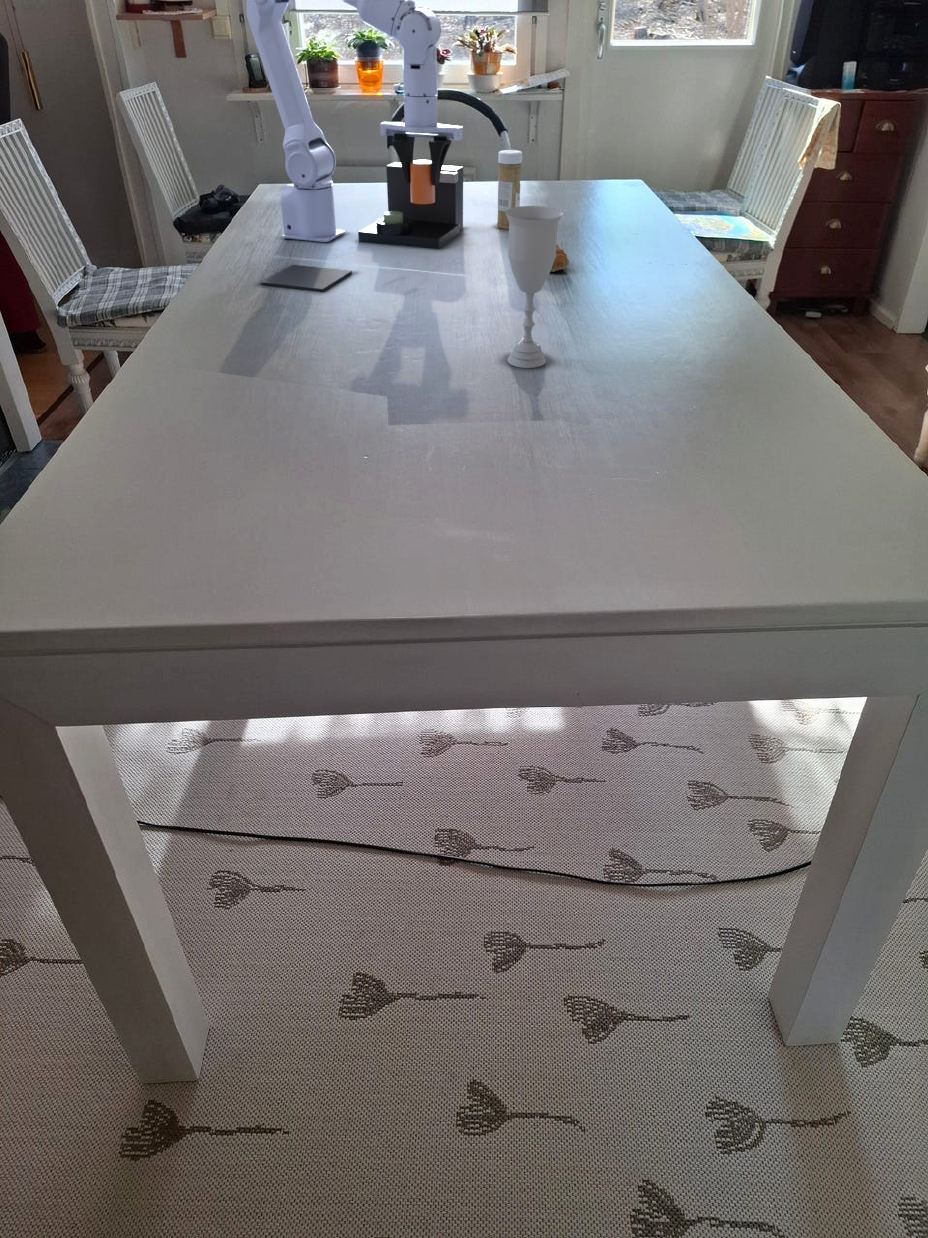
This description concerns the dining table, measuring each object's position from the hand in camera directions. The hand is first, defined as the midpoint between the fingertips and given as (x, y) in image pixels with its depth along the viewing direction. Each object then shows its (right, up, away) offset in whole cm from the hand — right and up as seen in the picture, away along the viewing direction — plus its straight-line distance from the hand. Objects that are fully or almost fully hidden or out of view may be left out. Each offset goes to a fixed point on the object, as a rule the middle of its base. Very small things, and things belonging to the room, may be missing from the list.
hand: (422, 183), depth 155 cm
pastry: (+22, -17, -5) cm, 28 cm away
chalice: (+16, -44, -41) cm, 62 cm away
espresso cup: (0, -2, +2) cm, 3 cm away
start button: (-6, -4, +6) cm, 9 cm away
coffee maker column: (0, -1, +16) cm, 16 cm away
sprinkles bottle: (+16, 0, +18) cm, 24 cm away
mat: (-18, -22, -12) cm, 31 cm away
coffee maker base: (-3, -5, +10) cm, 12 cm away
